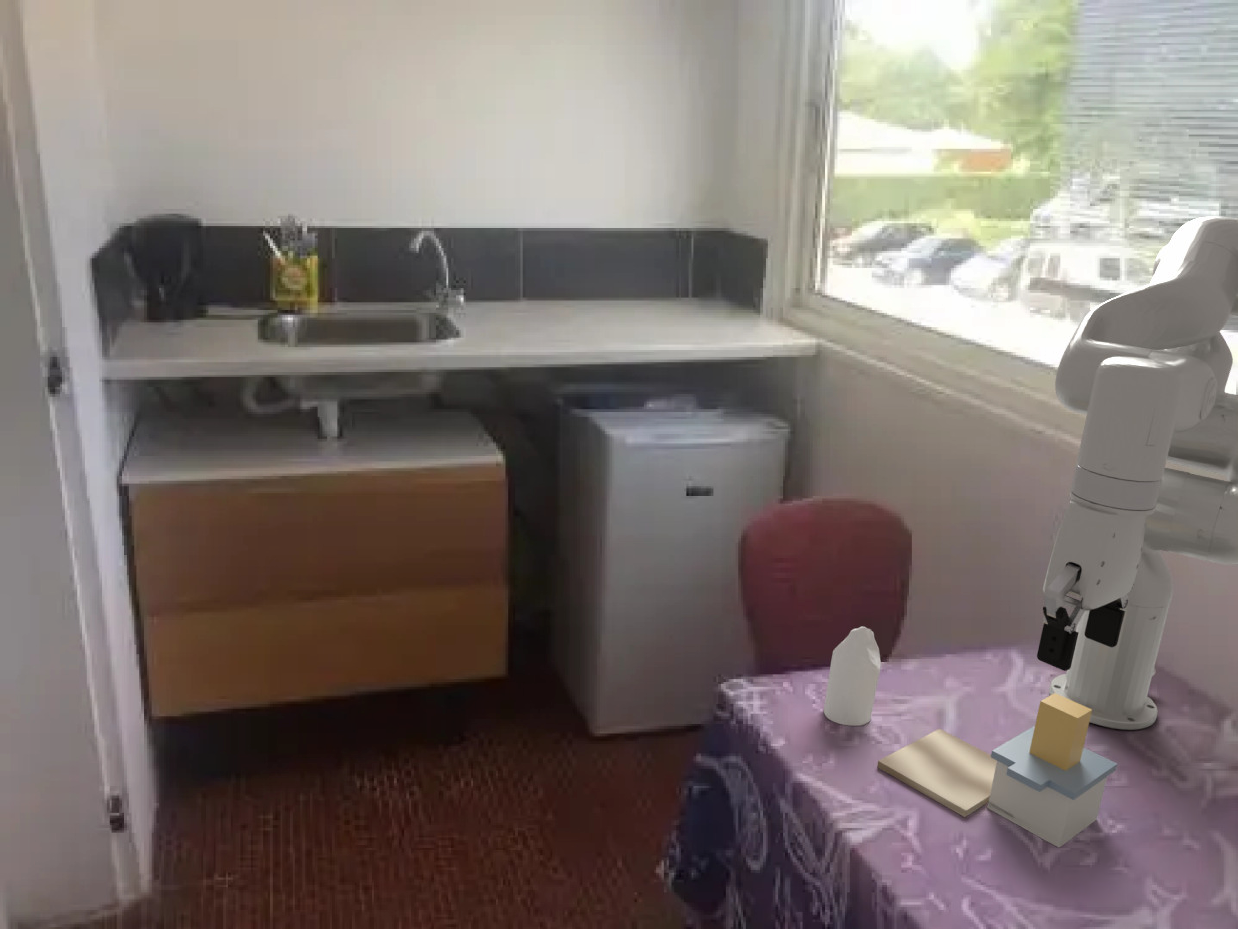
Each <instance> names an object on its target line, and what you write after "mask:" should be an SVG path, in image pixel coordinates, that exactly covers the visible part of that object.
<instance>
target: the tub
mask: <svg viewBox="0 0 1238 929" xmlns="http://www.w3.org/2000/svg"><path fill="white" fill-rule="evenodd" d="M1007 769H1008V766H1006V765H1005V764H1003V763H1001V762H999V761H997V763H996V768H995V773H994V778H993V783H992V788H991V792H990V797H989V802H988V803H987V807H986V808H987V809H989V810H990V811H992V812H994V813H996V814H997V815H999V816H1001V817H1003V818H1004V819H1006V820H1008V821H1010V822H1012V823H1014V824H1015V825H1018V826H1019V827H1021V828H1023V829H1025V830H1026V831H1028V832H1030V833H1031V834H1033V835H1035V836H1036V837H1039V838H1041V839H1043V840H1044V841H1046V842H1048V843H1050V844H1051V845H1053V846H1055V847H1057V848H1061V847H1062V846H1063V845H1065V844H1066V843H1067V842H1069V841H1071V839H1073V838H1074V837H1075V836H1077V835H1079V833H1081V832H1082V831H1084V830H1086V829H1087V828H1088V827H1089V826H1091V825H1092V824H1093V823H1094V822H1096V821H1097V820H1098V816H1099V812H1100V808H1101V804H1102V799H1103V797H1104V796H1103V795H1104V792H1105V788H1106V782H1107V778H1108V776H1107V777H1106V778H1104V779H1103V780H1102V781H1100V782H1099V783H1097V784H1096V785H1094V786H1093V787H1092V788H1090V789H1089V790H1087V791H1086V792H1084V793H1083V794H1082V795H1080V796H1079V797H1077V798H1076V799H1074V800H1072V799H1070V798H1068V797H1067V796H1065V795H1063V794H1061V793H1059V792H1057V791H1055V790H1053V789H1051V788H1049V787H1047V788H1045V789H1044V790H1042V791H1041V792H1038V791H1036V790H1034V789H1033V788H1031V787H1029V786H1027V785H1025V784H1023V783H1021V782H1019V781H1017V780H1015V779H1013V778H1012V777H1010V776H1008V775H1006V774H1007Z"/></svg>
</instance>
